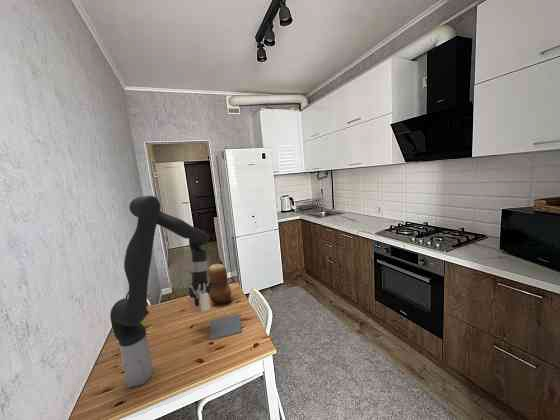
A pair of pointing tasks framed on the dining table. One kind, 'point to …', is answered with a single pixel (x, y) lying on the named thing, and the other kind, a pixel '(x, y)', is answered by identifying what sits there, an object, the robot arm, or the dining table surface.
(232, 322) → the mat
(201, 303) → the block
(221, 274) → the butternut squash
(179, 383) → the dining table surface
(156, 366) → the dining table surface
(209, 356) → the dining table surface
